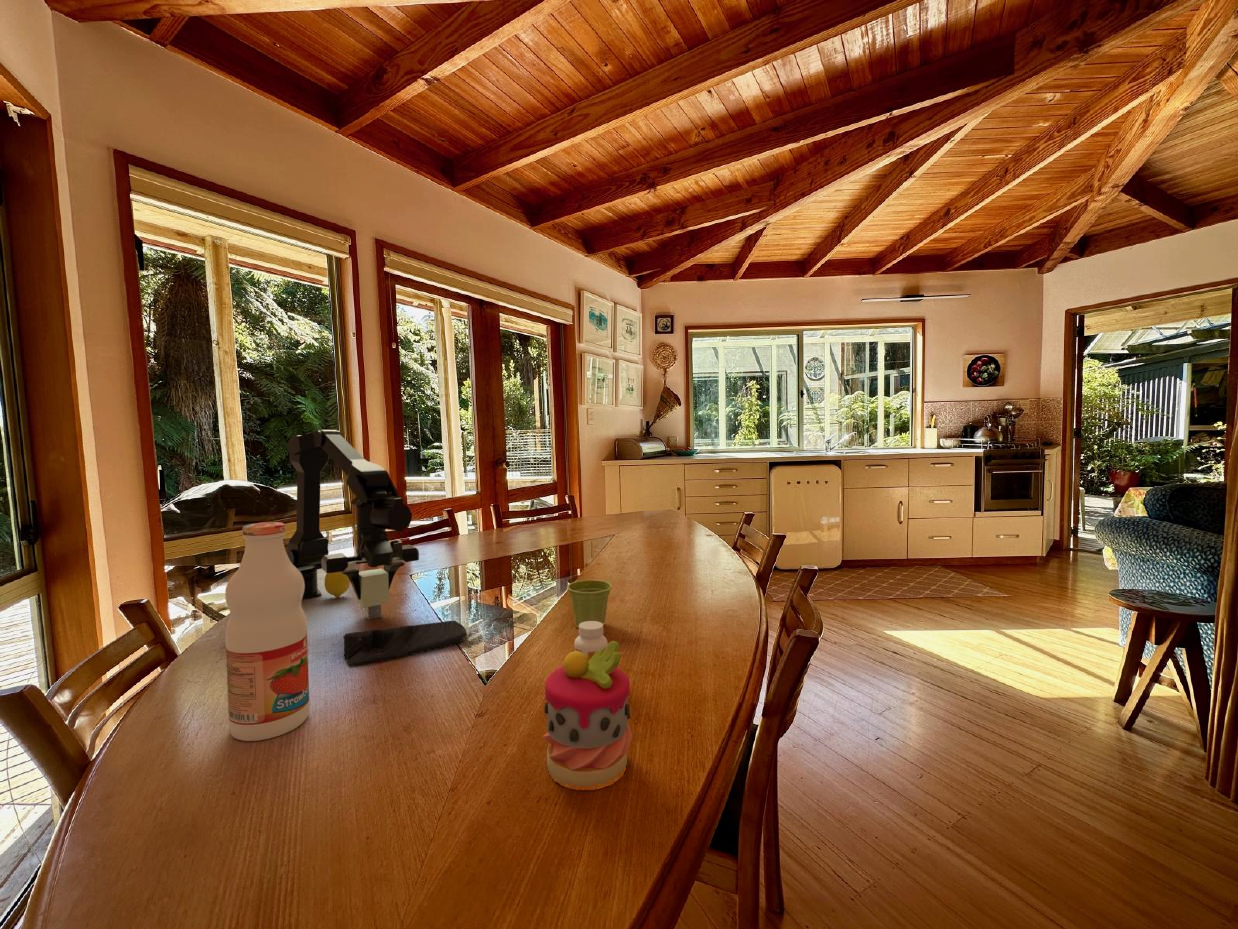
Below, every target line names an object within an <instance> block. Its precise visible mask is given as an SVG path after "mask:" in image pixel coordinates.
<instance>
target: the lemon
mask: <svg viewBox="0 0 1238 929" xmlns="http://www.w3.org/2000/svg"><path fill="white" fill-rule="evenodd" d="M350 583H351V582H350V580H349V578H348V577H347V575H344V574H342V573H341V572H335V573H326V574H325V577H324V588H325V591H326V593H328V595H332V596H334V597H335V598H337V599H338V598H340V597H341V596H342V595H343V594H345V593H347V591H348V590H349V587H350V585H351V584H350Z"/></svg>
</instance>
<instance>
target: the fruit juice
mask: <svg viewBox="0 0 1238 929" xmlns="http://www.w3.org/2000/svg"><path fill="white" fill-rule="evenodd" d="M286 530H287V529H286V524H285V523H284V522H282V521H281V522H279V521H278V522H277V521H272V522H271V521H269V522H268V521H267V522H266V521H265V522H257V523H255V522H254V523H250V524H246V525H244V526H242V530H241V534H242V539H243V540H245V547H244V553H243V556H242V558H241V562H240V565H239V567H238V568H237V570H236V571H235V572H234V574H233V575H232V576H231V577H230V579H229V580H228V582H227V584H226V587H225V593H224V598H225V602H226V603H225V604H226V605H227V607H228V611H229V614H230V616H229V620H228V622H227V624H226V628H225V654H226V655H225V657H226V680H227V681H226V682H227V684H226V685H227V705H228V706H227V710H228V712H227V713H228V728H229V733H230V735H231V736H232V738H234V739H236V740H239V741H243V742H257V741H264V740H268V739H272V738H277V737H280V736H282V735H284V734H287V733H289V732H291V731H293V730H295V729H298V727H299V726H301V725H302V724H303V723H304V722H305V721H306V720H307V718H308V715H309V713H310V683H309V682H310V681H309V676H310V675H309V651H308V650H309V645H308V623H307V622H308V621H307V615H306V612H305V610H304V609H303V606H302V602H303V599H304V598H303V594H304V589H305V584H304V578H303V576H302V574H301V572H300V571H299V570H298V569H297V568H296V567H295V566H294V565H293V564H292V563H291V561H290V559H289V557H288V555H287V550H286V547H285V544H284V537H285V535H286Z"/></svg>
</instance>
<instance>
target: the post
mask: <svg viewBox="0 0 1238 929" xmlns="http://www.w3.org/2000/svg"><path fill="white" fill-rule="evenodd" d="M364 611H365V612H364V614H365V616H364V617H365V618H366V619H367V620H369V621H371V620H374V619H379V618H382V604H381V605H376V606H370V607H365V608H364Z"/></svg>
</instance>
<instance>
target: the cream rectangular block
mask: <svg viewBox="0 0 1238 929" xmlns="http://www.w3.org/2000/svg"><path fill="white" fill-rule="evenodd" d="M359 582H360V590H361V599H360V600H359V599H358V598H357V597H356V602H357V603H358V604H359V605H360V606H361V607H362V608H363V609H365V607H370V606H376V605H381V606H382V605H385V604H389V603H390V598H389V597H390V596H389V594H390V593H389V592H390V589H389V582H388V573H387V572H386V571H384V568H375V569H368V570H361V571H359Z"/></svg>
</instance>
